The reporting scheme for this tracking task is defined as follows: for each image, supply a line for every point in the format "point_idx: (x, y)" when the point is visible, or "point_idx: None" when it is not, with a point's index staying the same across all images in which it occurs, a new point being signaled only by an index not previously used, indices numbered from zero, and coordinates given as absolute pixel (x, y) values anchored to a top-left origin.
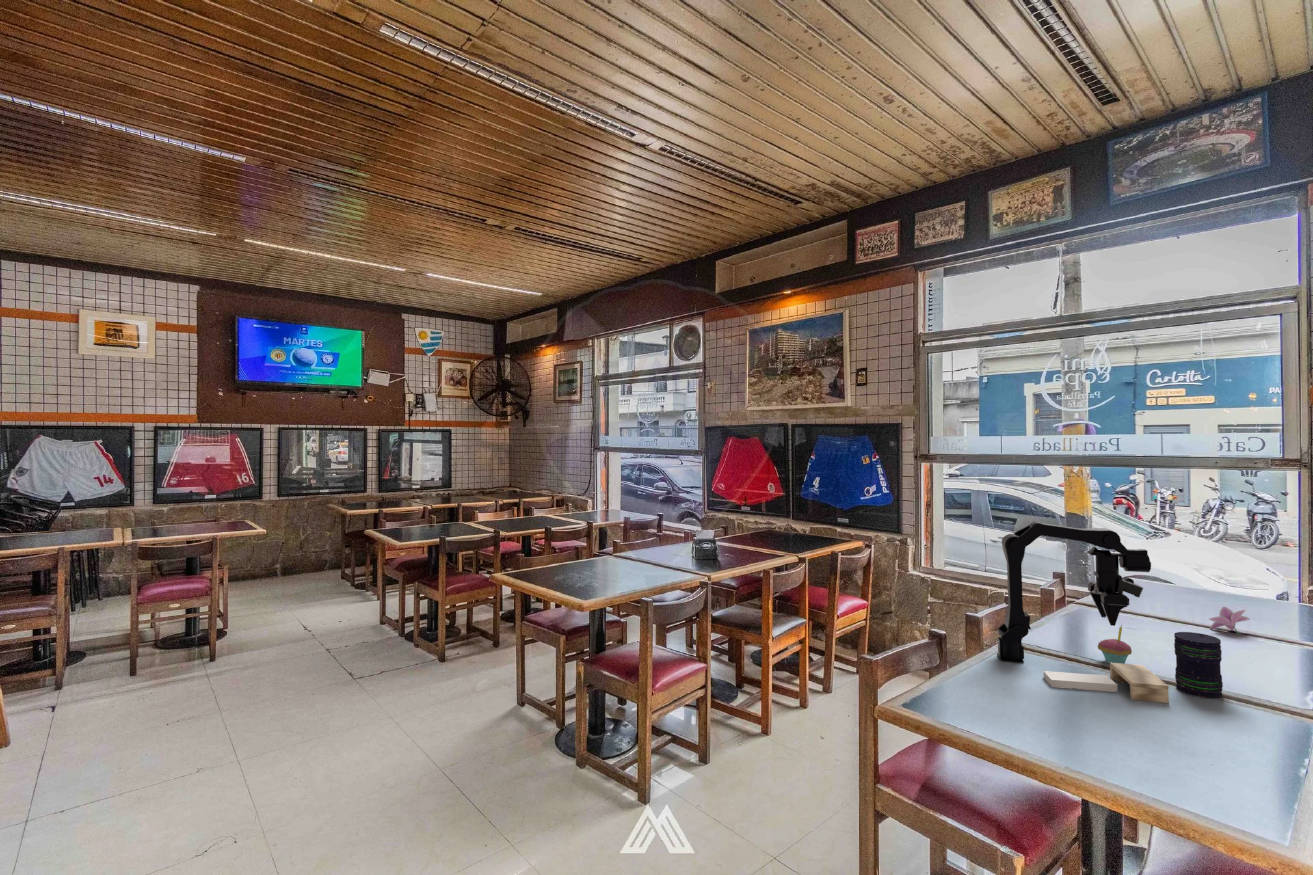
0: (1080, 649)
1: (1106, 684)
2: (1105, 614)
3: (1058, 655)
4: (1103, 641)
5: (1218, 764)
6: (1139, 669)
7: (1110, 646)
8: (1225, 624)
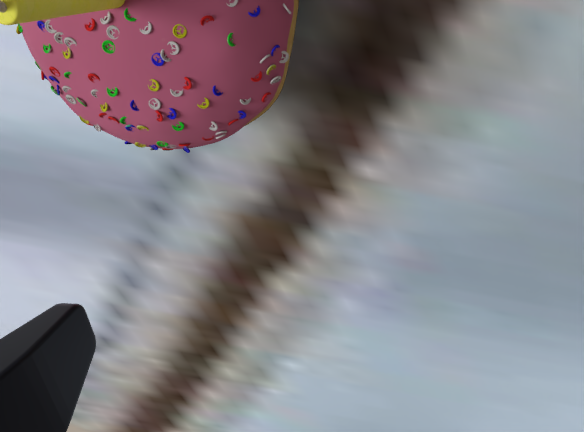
0: (3, 155)
1: None
2: (57, 344)
3: (215, 291)
4: (164, 132)
5: None
6: None
7: (253, 86)
8: None
